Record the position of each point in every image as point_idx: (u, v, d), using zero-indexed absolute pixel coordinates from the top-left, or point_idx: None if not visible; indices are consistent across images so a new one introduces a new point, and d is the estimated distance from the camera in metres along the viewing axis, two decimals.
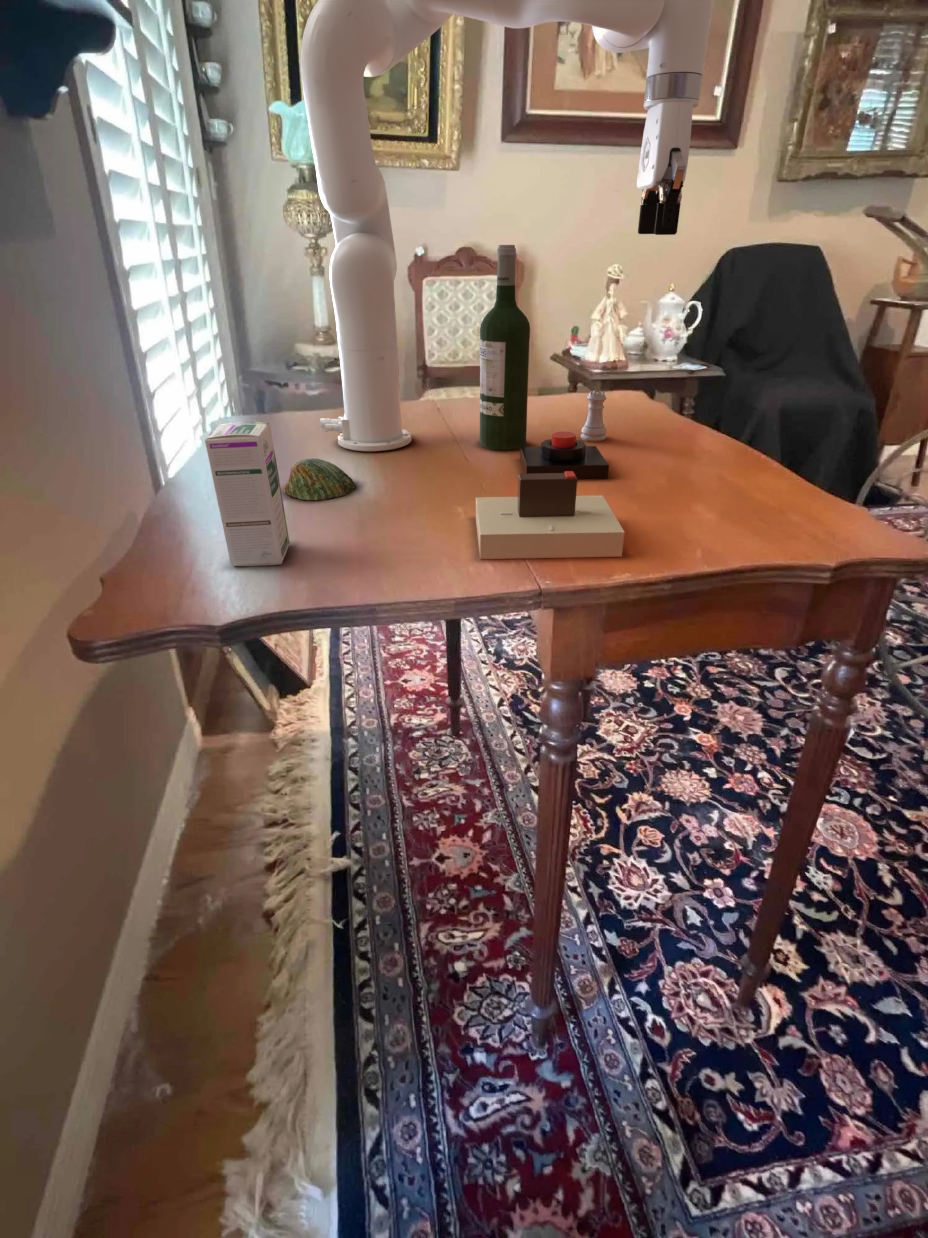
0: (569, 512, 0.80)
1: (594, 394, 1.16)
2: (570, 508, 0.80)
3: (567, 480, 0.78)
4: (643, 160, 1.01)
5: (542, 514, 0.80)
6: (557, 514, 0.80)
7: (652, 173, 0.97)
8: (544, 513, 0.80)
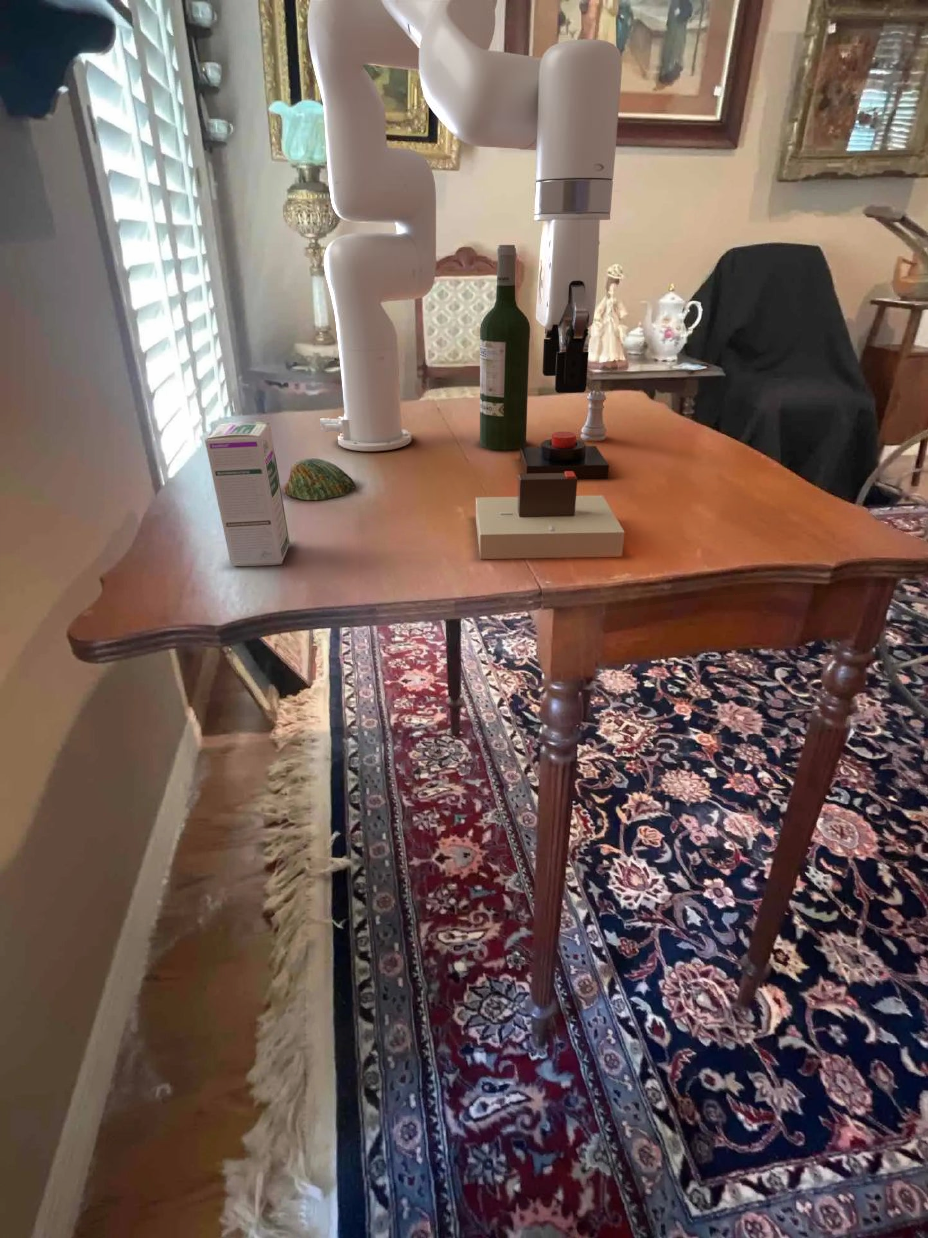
0: (569, 512, 0.80)
1: (594, 394, 1.16)
2: (570, 508, 0.80)
3: (567, 480, 0.78)
4: (539, 288, 0.73)
5: (542, 514, 0.80)
6: (557, 514, 0.80)
7: (547, 313, 0.69)
8: (544, 513, 0.80)
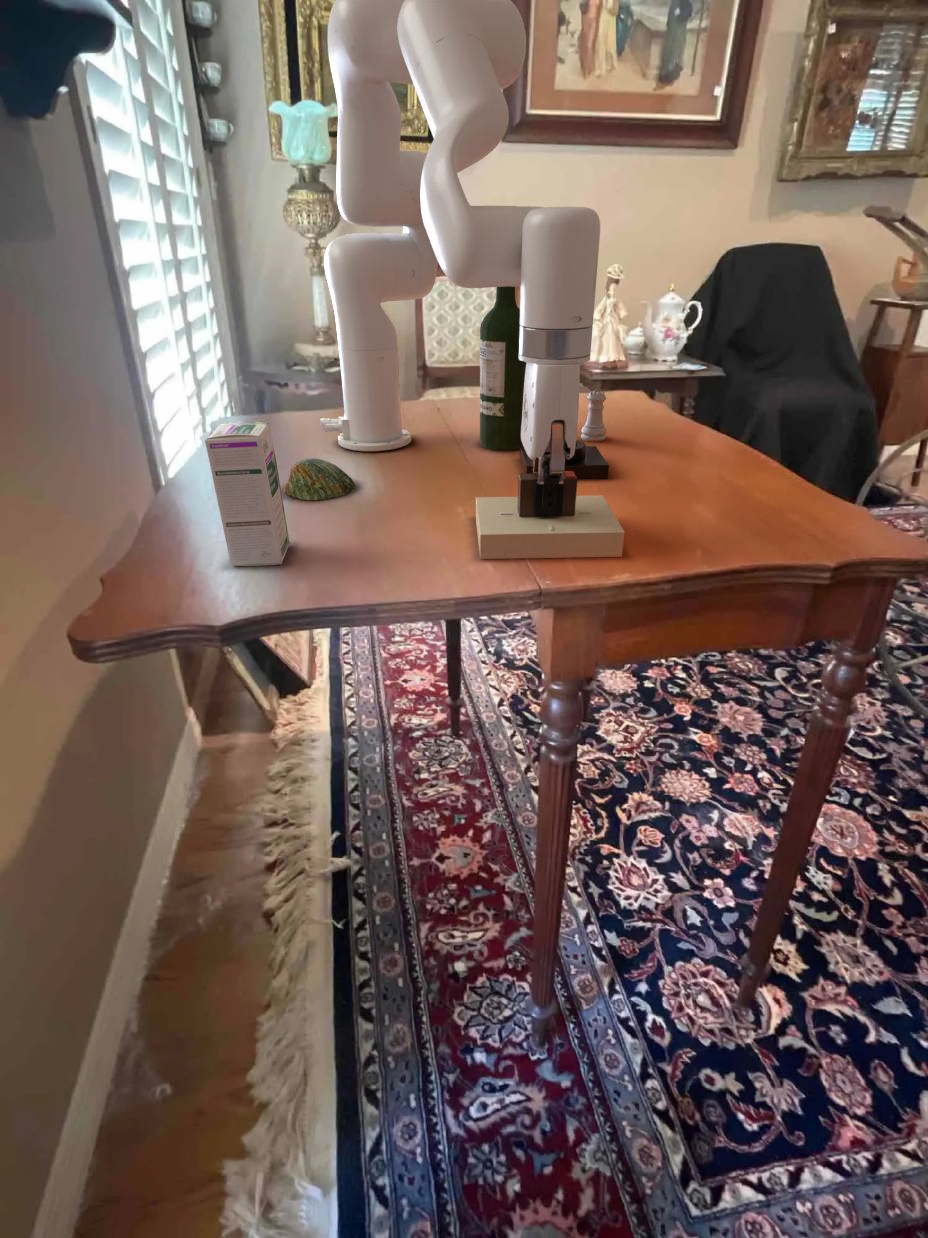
0: (569, 512, 0.80)
1: (594, 394, 1.16)
2: (571, 507, 0.80)
3: (567, 480, 0.78)
4: (524, 415, 0.77)
5: None
6: None
7: (530, 446, 0.73)
8: None
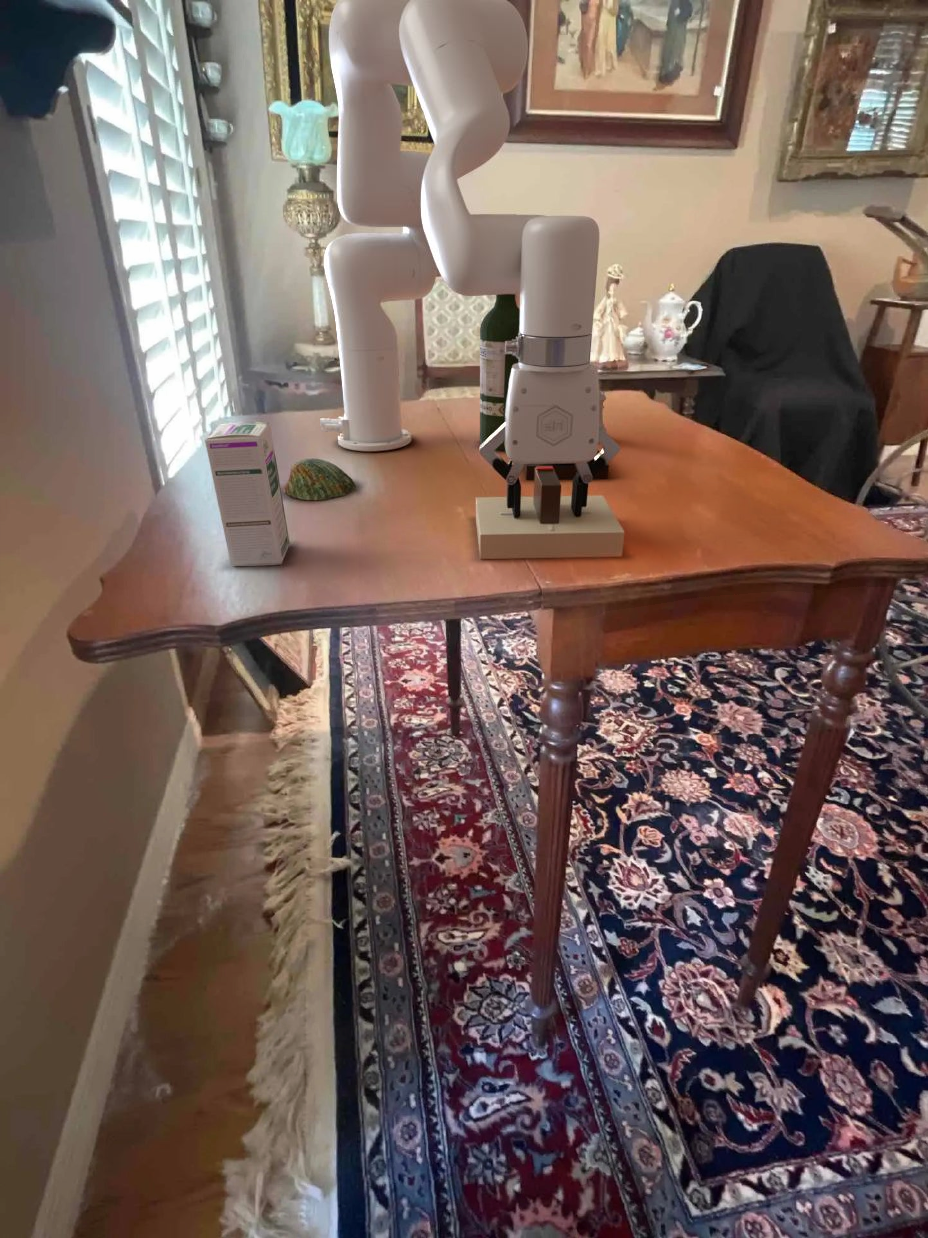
0: None
1: None
2: None
3: (554, 471, 0.81)
4: (541, 431, 0.74)
5: None
6: None
7: (591, 448, 0.75)
8: None
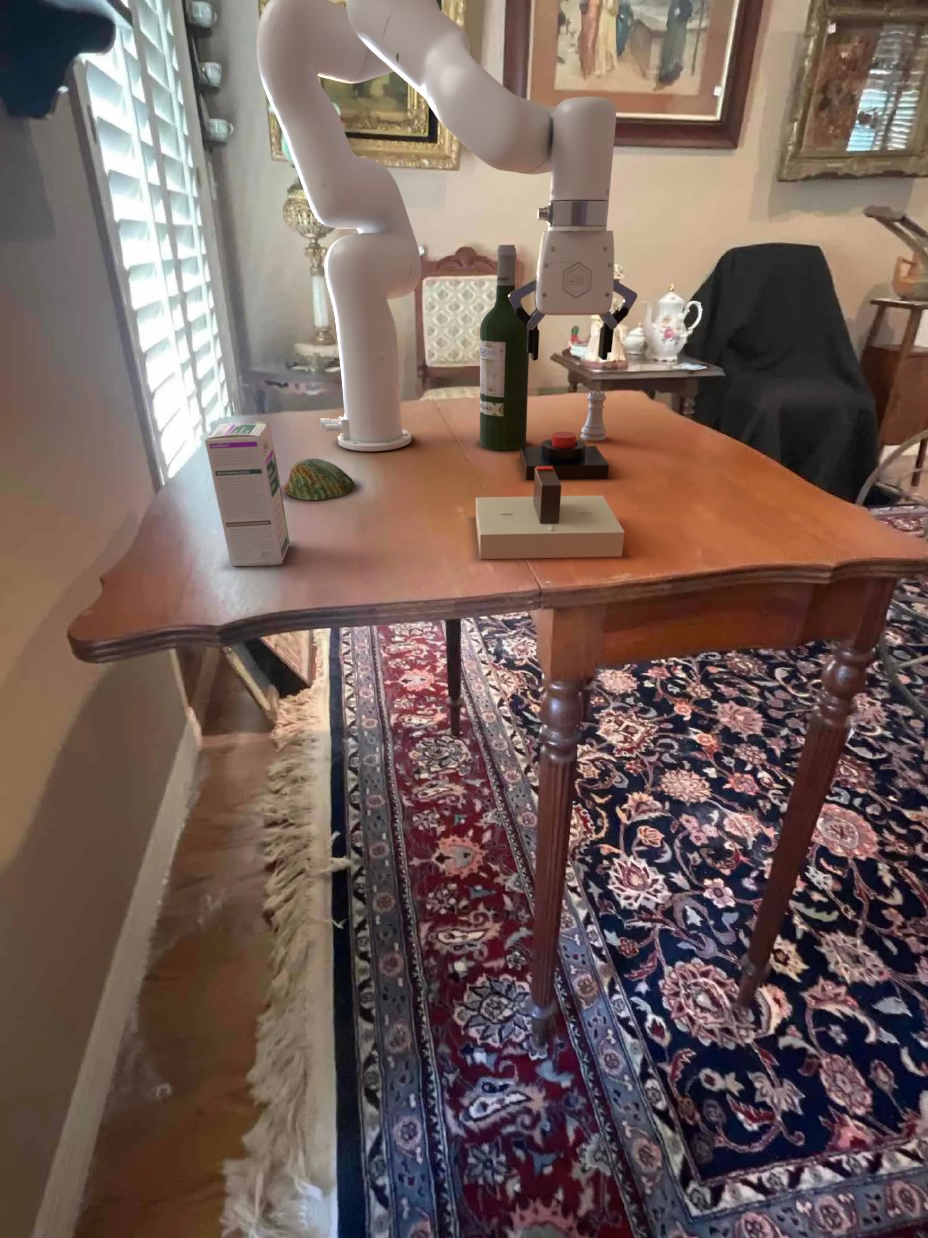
0: None
1: (594, 394, 1.16)
2: None
3: (554, 471, 0.81)
4: (566, 285, 0.90)
5: None
6: None
7: (607, 301, 0.91)
8: None
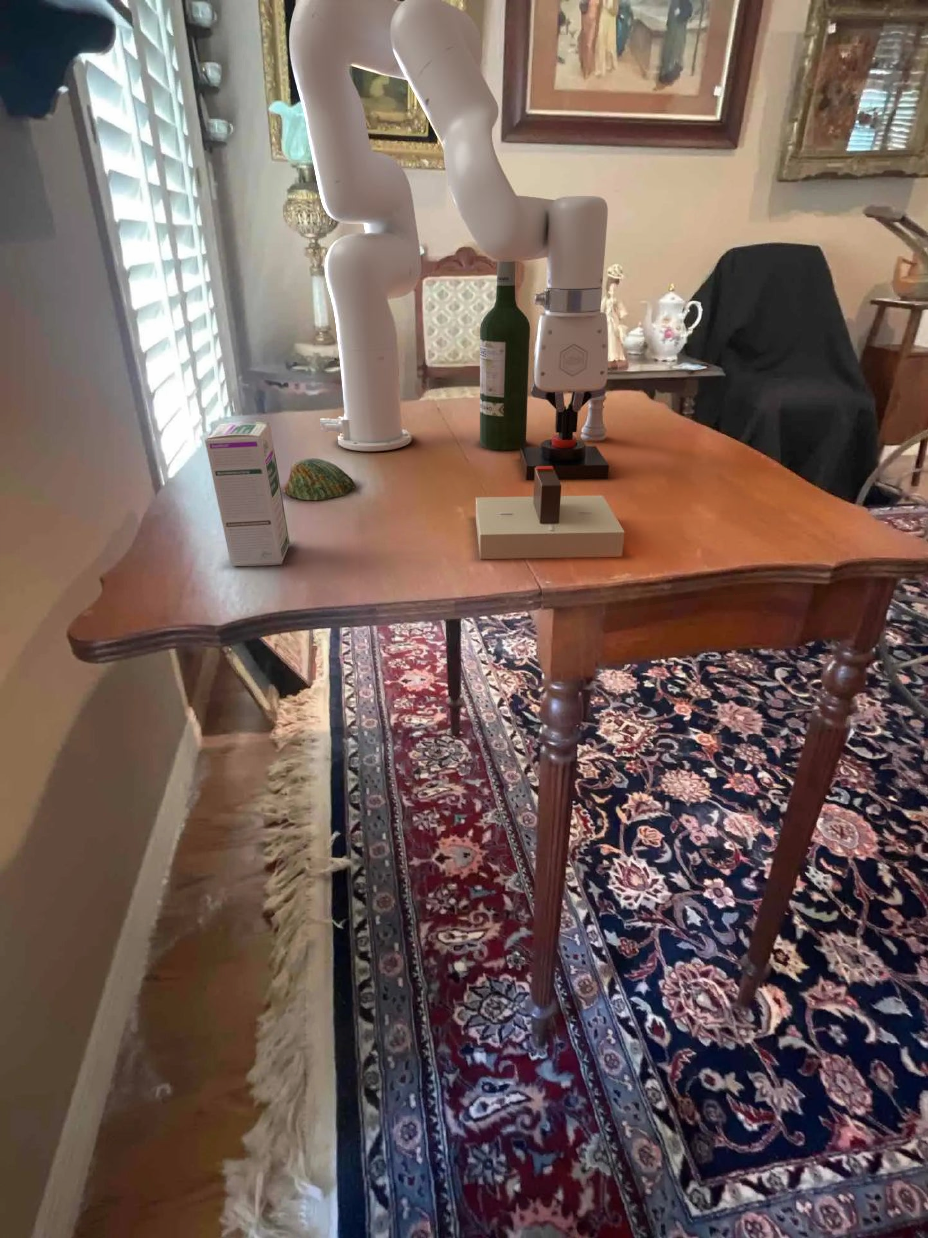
0: None
1: None
2: None
3: (554, 471, 0.81)
4: (563, 365, 0.95)
5: None
6: None
7: (602, 378, 0.96)
8: None
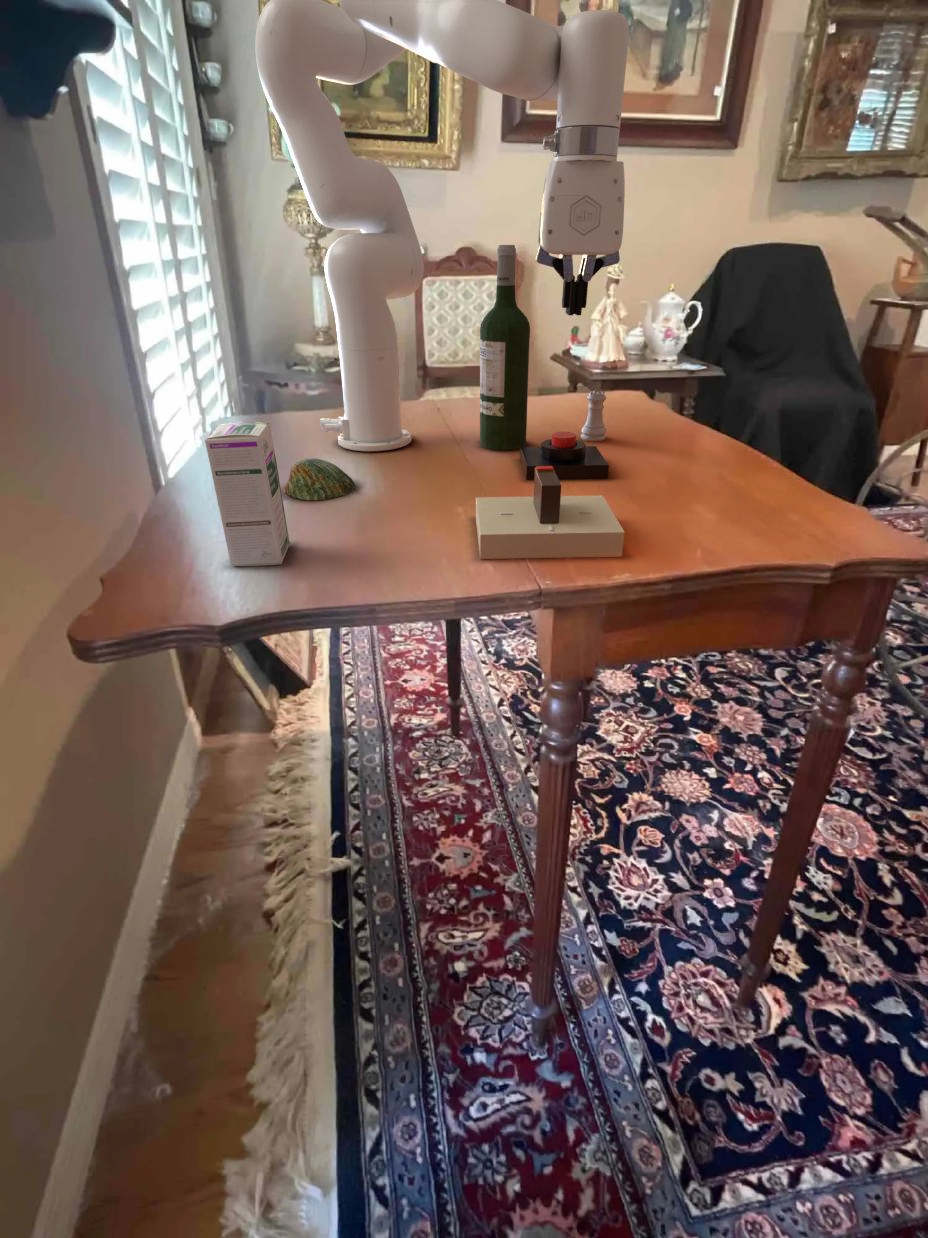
0: None
1: (594, 394, 1.16)
2: None
3: (554, 471, 0.81)
4: (573, 221, 0.84)
5: None
6: None
7: (616, 239, 0.85)
8: None
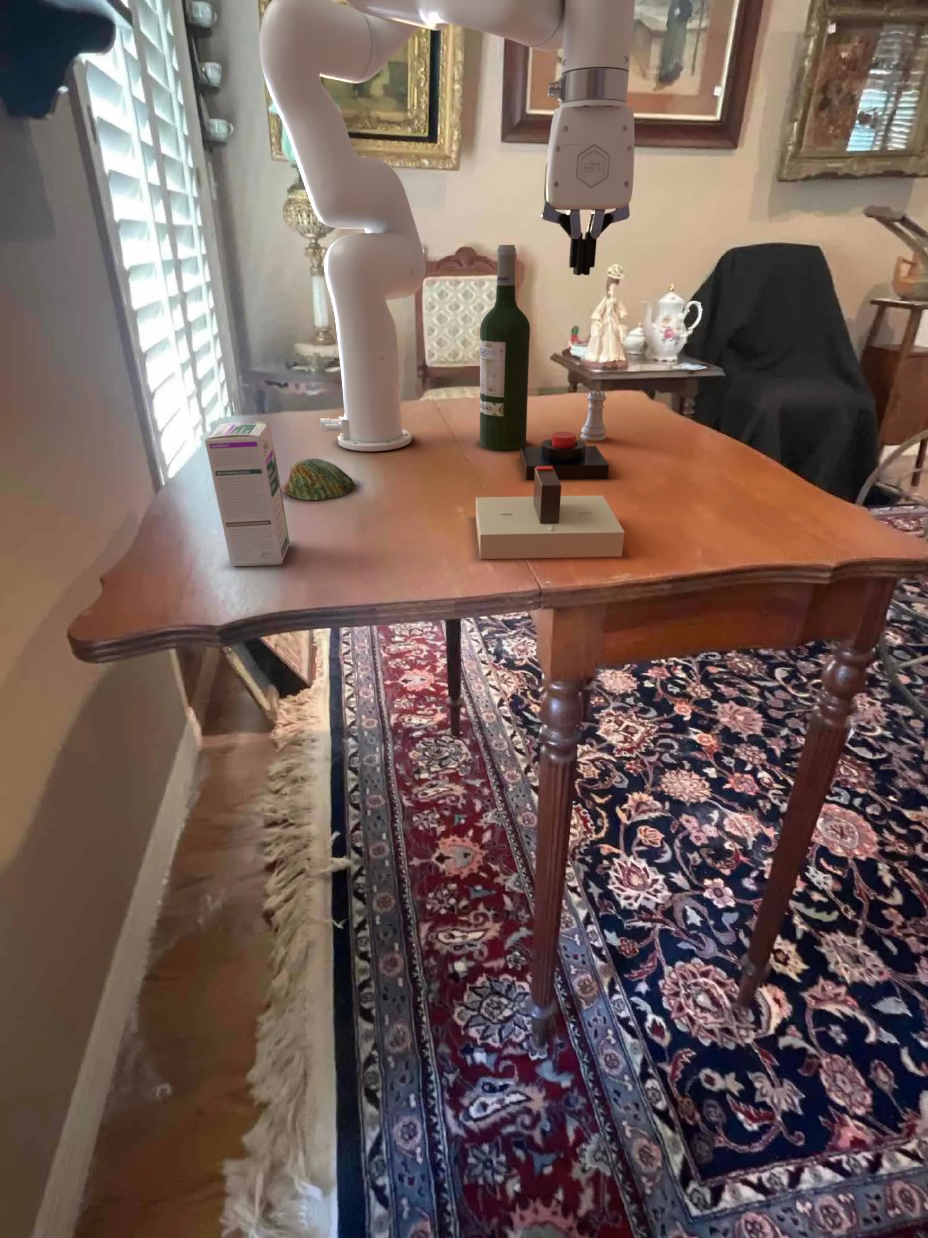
0: None
1: (594, 394, 1.16)
2: None
3: (554, 471, 0.81)
4: (580, 172, 0.80)
5: None
6: None
7: (626, 192, 0.81)
8: None
